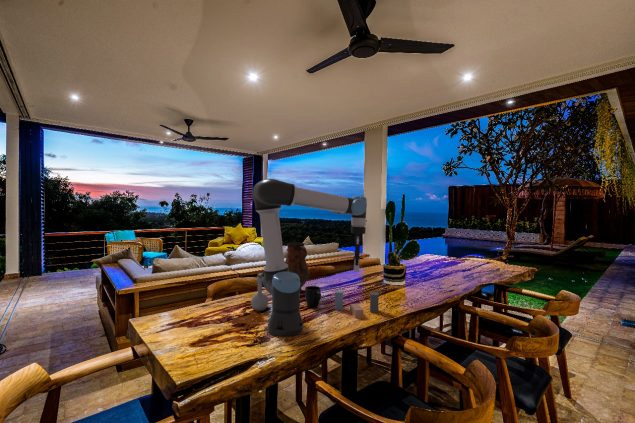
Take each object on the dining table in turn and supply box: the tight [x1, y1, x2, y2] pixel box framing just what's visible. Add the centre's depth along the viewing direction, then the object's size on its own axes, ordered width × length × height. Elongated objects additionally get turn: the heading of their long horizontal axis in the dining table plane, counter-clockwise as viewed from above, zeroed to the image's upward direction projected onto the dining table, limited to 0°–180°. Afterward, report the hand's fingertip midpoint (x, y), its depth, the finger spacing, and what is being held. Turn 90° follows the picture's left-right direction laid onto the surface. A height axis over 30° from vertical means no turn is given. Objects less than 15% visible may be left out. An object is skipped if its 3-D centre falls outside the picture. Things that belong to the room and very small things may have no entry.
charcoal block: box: [369, 291, 380, 314], centre depth 151 cm, size 4×4×9 cm
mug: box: [304, 285, 322, 308], centre depth 156 cm, size 8×12×10 cm
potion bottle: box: [250, 272, 269, 312], centre depth 152 cm, size 9×9×18 cm
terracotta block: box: [349, 303, 365, 319], centre depth 146 cm, size 4×4×9 cm
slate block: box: [334, 289, 344, 311], centre depth 153 cm, size 4×4×9 cm
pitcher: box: [284, 242, 310, 295], centre depth 180 cm, size 17×21×30 cm
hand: (356, 271), depth 155 cm, fingers closed
